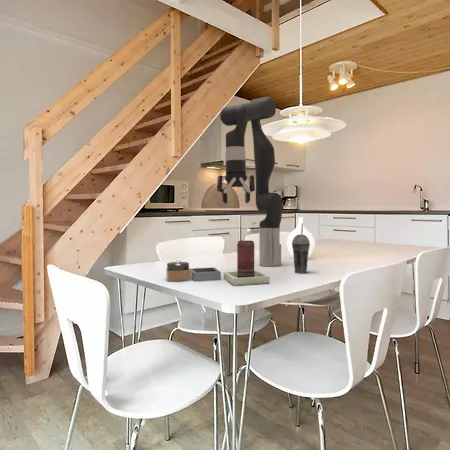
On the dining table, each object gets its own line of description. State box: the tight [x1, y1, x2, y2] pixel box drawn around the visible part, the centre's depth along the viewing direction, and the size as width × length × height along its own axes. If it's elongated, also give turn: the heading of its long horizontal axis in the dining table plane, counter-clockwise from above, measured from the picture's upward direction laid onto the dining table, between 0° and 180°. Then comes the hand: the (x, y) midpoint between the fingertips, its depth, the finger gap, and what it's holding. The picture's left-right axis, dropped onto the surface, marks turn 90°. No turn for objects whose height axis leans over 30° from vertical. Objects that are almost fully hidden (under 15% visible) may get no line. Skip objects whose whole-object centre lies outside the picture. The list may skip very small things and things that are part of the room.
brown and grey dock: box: [165, 260, 222, 283], centre depth 134 cm, size 19×10×7 cm, turn 105°
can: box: [236, 239, 255, 278], centre depth 129 cm, size 6×6×14 cm
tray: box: [223, 269, 270, 287], centre depth 129 cm, size 13×13×2 cm
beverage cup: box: [291, 223, 311, 274], centre depth 145 cm, size 7×7×20 cm
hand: (236, 203), depth 135 cm, fingers open, 8 cm apart
